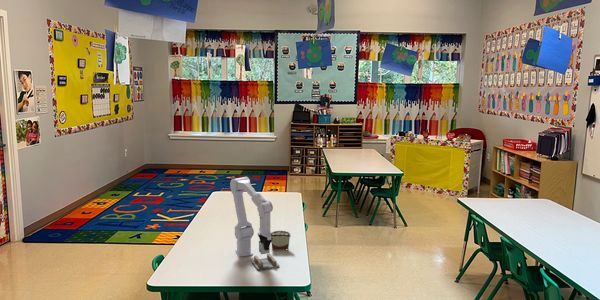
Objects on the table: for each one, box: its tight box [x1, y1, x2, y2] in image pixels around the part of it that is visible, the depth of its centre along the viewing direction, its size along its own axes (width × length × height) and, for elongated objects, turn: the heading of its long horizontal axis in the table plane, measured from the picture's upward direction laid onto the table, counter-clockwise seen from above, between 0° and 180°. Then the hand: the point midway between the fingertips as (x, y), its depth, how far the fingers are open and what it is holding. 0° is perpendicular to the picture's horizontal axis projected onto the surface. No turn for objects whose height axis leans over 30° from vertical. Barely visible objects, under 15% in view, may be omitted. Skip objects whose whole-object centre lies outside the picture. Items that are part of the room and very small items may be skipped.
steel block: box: [258, 240, 271, 255], centre depth 237 cm, size 4×4×6 cm
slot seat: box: [250, 253, 280, 272], centre depth 239 cm, size 12×12×4 cm
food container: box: [270, 230, 292, 251], centre depth 262 cm, size 12×6×10 cm, turn 92°
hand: (265, 248), depth 238 cm, fingers closed on steel block, 4 cm apart
